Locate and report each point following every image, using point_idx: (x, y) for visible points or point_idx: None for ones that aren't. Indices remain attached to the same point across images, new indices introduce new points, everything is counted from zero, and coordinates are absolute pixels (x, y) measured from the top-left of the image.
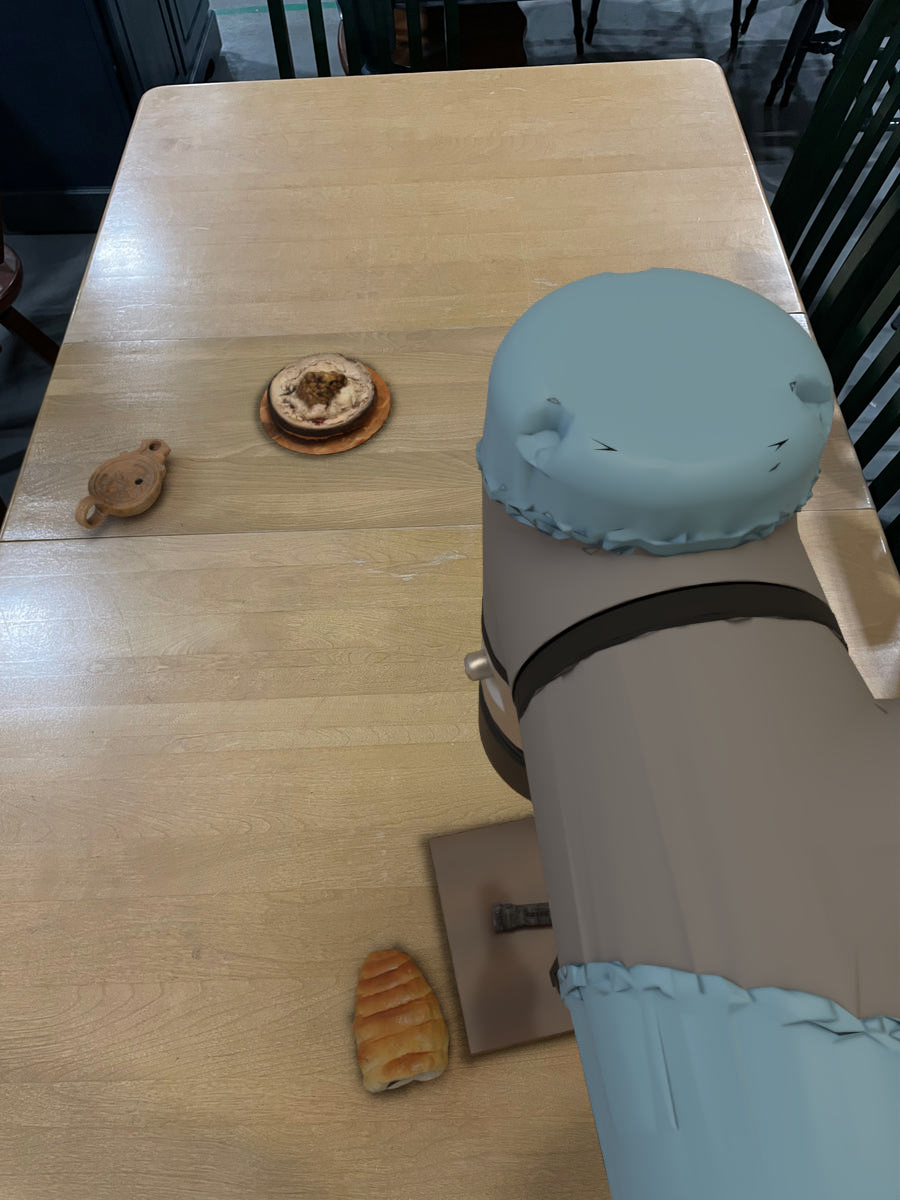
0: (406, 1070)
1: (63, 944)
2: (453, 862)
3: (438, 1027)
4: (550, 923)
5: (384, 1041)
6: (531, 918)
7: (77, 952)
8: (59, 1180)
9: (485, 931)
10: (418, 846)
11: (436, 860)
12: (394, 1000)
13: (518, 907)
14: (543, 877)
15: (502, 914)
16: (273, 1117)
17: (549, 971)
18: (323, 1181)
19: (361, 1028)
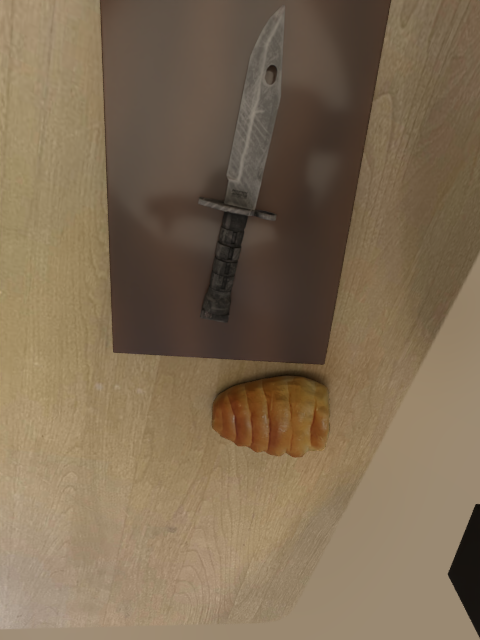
0: (324, 435)
1: (142, 600)
2: (144, 335)
3: (296, 393)
4: (237, 262)
5: (294, 444)
6: (227, 284)
7: (150, 593)
8: (292, 602)
9: (222, 323)
10: (118, 355)
11: (138, 350)
12: (263, 429)
13: (212, 293)
14: (183, 246)
15: (215, 313)
16: (305, 496)
17: (455, 587)
18: (359, 473)
19: (275, 455)
